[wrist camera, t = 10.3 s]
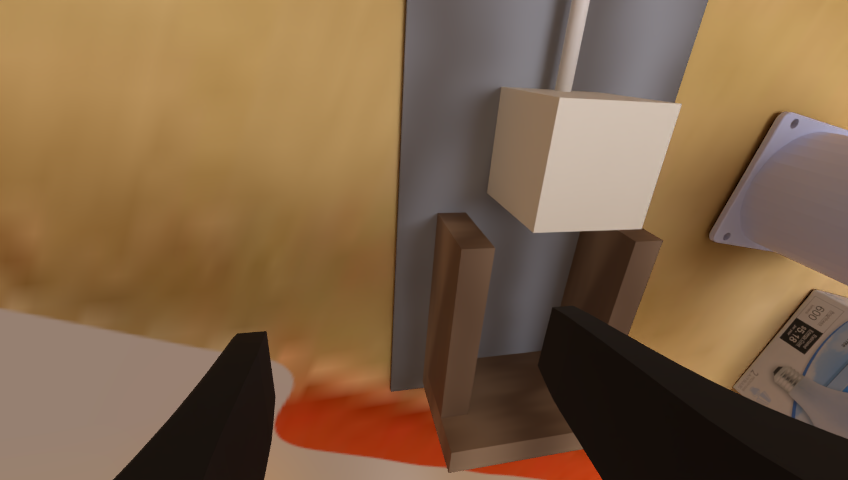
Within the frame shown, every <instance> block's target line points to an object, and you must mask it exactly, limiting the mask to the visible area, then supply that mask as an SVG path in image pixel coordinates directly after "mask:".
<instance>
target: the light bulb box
mask: <svg viewBox="0 0 848 480" xmlns="http://www.w3.org/2000/svg"><path fill="white" fill-rule="evenodd" d="M733 388H734V389H735V390H737V391H738V392H739V393H740V394H741V395H742V396H744V397H746V398H749V399H751V400H753V401H755V402H757V403H760V404H762V405H764V406H766V407H769V408H771V409H773V410H776V411H778V412H780V413H783V414H785V415H788V416H790V417H793V418H795V419H798V420H800V421H803V422H805V423H808V424H810V425H813V426H815V427H818V428H820V429H823V430H826V431H828V432H831V433H833V434H836V435H839V436H841V437H844V438H847V439H848V298H846V297H842V296H839V295H835V294H831V293H828V292H824V291H820V290H813V291H812V293H811V294H810V295H809V296H808V298H807V299H806V300H805V301H804V302H803V304H802V305H801V306H800V307H799V308H798V310H797V311H796V312H795V313H794V314H793V316H792V317H791V318H790V319H789V320H788V322H787V323H786V324H785V325H784V326H783V328H782V329H781V330H780V331H779V332H778V333H777V335H776V336H775V337H774V338H773V339H772V341H771V342H770V343H769V344H768V345H767V347H766V348H765V349H764V350H763V351H762V353H761V354H760V355H759V356H758V358H757V359H756V360H755V361H754V362H753V363H752V365H751V366H750V367H749V368H748V369H747V371H746V372H745V373H744V374H743V375H742V376H741V378H740V379H739V380H738V381H737V382H736V384H735V385H734V386H733Z"/></svg>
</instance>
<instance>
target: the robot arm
mask: <svg viewBox="0 0 848 480" xmlns="http://www.w3.org/2000/svg"><path fill="white" fill-rule="evenodd" d="M709 238H710V240H712V241H714V242H717V243H723V244H729V245H735V246H741V247H747V248H754V249H760V250H766V251H772V252H776V253H778V254H781V255H783V256H785V257H787V258H789V259H791V260H794V261H796V262H798V263H800V264H802V265H804V266H807V267H809V268H811V269H813V270H815V271H817V272H820V273H822V274H824V275H826V276H828V277H830V278H833V279H835V280H837V281H839V282H841V283H843V284H845V285H848V130H845V129H842V128H839V127H836V126H833V125H830V124H827V123H824V122H821V121H818V120H815V119H812V118H809V117H806V116H802V115H799V114H796V113H793V112H782V113H781V114H780V115H778V116H777V118H776V119H775V121H774V123H773V124H772V126H771V128H770V130H769V131H768V133H767V135H766V136H765V138H764V140H763V142H762V143H761V145H760V147H759V149H758V150H757V152H756V154H755V155H754V157H753V159H752V161H751V162H750V164H749V166H748V168H747V169H746V171H745V173H744V174H743V176H742V178H741V180H740V181H739V183H738V185H737V187H736V188H735V190H734V192H733V194H732V195H731V197H730V199H729V200H728V202H727V204H726V206H725V207H724V209H723V211H722V213H721V214H720V216H719V218H718V219H717V221H716V223H715V225H714V226H713V228H712V230H711V232H710V234H709ZM538 368H539V370H540V372H541V375H542V377H543V379H544V381H545V384H546V386H547V388H548V390H549V392H550V394H551V396H552V398H553V401H554V402H555V404H556V406H557V407H558V409H559V411H560V412H561V414H562V415H563V417H564V419H565V420H566V422H567V424H568V425H569V427H570V428H571V430H572V432H573V433H574V435H575V436H576V438H577V440H578V441H579V443H580V444H581V446H582V448H583V449H584V451H585V452H586V454H587V456H588V457H589V459H590V460H591V462H592V464H593V465H594V467H595V468H596V470H597V471H598V473H599V475H600V476H601V478H602V479H603V480H848V439H847V438H844V437H841V436H839V435H836V434H833V433H831V432H828V431H826V430H823V429H820V428H818V427H815V426H813V425H810V424H808V423H805V422H803V421H800V420H798V419H795V418H793V417H790V416H788V415H785V414H783V413H780V412H778V411H776V410H773V409H771V408H769V407H766V406H764V405H762V404H760V403H757V402H755V401H753V400H751V399H749V398H746V397H744V396H742V395H740V394H738V393H735V392H733V391H731V390H729V389H727V388H725V387H723V386H720V385H718V384H716V383H714V382H712V381H710V380H708V379H706V378H704V377H702V376H701V375H699V374H697V373H695V372H693V371H691V370H689V369H687V368H685V367H683V366H681V365H679V364H677V363H676V362H674V361H672V360H670V359H668V358H666V357H665V356H663V355H661V354H659V353H657V352H656V351H654V350H652V349H650V348H648V347H647V346H645V345H643V344H641V343H640V342H638V341H636V340H634V339H633V338H631V337H629V336H627V335H626V334H624V333H622V332H621V331H619V330H617V329H615V328H614V327H612V326H610V325H608V324H607V323H605V322H603V321H601V320H600V319H598V318H596V317H594V316H592V315H590V314H589V313H587V312H585V311H583V310H581V309H579V308H577V307H575V306H561V307H552V311H551V315H550V319H549V323H548V326H547V330H546V334H545V338H544V342H543V346H542V350H541V354H540V358H539V362H538ZM274 407H275V391H274V383H273V376H272V369H271V361H270V354H269V347H268V339H267V332H266V331H264V332H252V333H240V334H237V335H236V336H235V337H233V339H232V340H231V341H230V343H229V344H228V345H227V347H226V348H225V349H224V351H223V352H222V353H221V355H220V356H219V357H218V359H217V360H216V361H215V363H214V364H213V365H212V367H211V368H210V369H209V371H208V372H207V373H206V374H205V376H204V377H203V378H202V380H201V381H200V382H199V383H198V385H197V386H196V387H195V388H194V389H193V391H192V392H191V393H190V394H189V396H188V397H187V398H186V399H185V400H184V402H183V403H182V404H181V405H180V407H179V408H178V409H177V410H176V411H175V413H174V414H173V415H172V416H171V417H170V418H169V420H168V421H167V422H166V423H165V424H164V425H163V426H162V427H161V429H160V430H159V431H158V432H157V433H156V434H155V435H154V436H153V438H151V440H150V441H149V442H148V443H147V444H146V445H145V446H144V447H143V448H142V450H141V451H140V452H139V453H138V454H137V455H136V456H135V457H134V458H133V460H131V462H130V463H129V464H128V465H127V466H126V467H125V468H124V469H123V470H122V471H121V472H120V473H119V474H118V475H117V476H116V477H115V478H114V479H113V480H264V477H265V472H266V467H267V462H268V457H269V451H270V445H271V441H272V430H273V420H274Z"/></svg>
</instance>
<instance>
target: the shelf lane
mask: <svg viewBox="0 0 848 480" xmlns="http://www.w3.org/2000/svg"><path fill="white" fill-rule="evenodd" d="M571 2H572V0H406V21H405V46H404V70H403V95H402V120H401V144H400V169H399V193H398V218H397V242H396V267H395V292H394V316H393V341H392V365H391V392H392V391H400V390H408V389H416V388H424V389H425V392H426V396H427V399H428V403H429V406H430V410H431V413H432V417H433V420H434V424H435V427H436V430H437V434H438V437H439V441H440V444H441V448H442V451H443V455H444V458H445V462H446V465H447V469H448V472H449V473H451V472H456V471H462V470H468V469H474V468H479V467H485V466H490V465H496V464H502V463H507V462H513V461H518V460H524V459H530V458H535V457H541V456H546V455H552V454H557V453H563V452H569V451H574V450H580V449H583V448H582V446H581V444H580V443H579V441H578V440H577V438H576V436H575V435H574V433H573V432H572V430H571V428H570V427H569V425H568V424H567V422H566V420H565V419H564V417H563V415H562V414H561V412H560V411H559V409H558V407H557V406H556V404H555V402H554V401H553V398H552V396H551V394H550V392H549V390H548V388H547V386H546V384H545V381H544V379H543V377H542V375H541V372H540V370H539V368H538V362H539V358H540V354H541V350H542V346H543V342H544V338H545V334H546V330H547V326H548V323H549V319H550V315H551V311H552V307H561V306H575V307H577V308H579V309H581V310H583V311H585V312H587V313H589V314H590V315H592V316H594V317H596V318H598V319H600V320H601V321H603V322H605V323H607V324H608V325H610V326H612V327H614V328H615V329H617V330H619V331H621V332H622V333H624V334H626V335H627V336H628V334H629V331H630V328H631V325H632V323H633V320H634V317H635V315H636V312H637V309H638V307H639V304H640V301H641V299H642V296H643V293H644V290H645V288H646V285H647V282H648V280H649V277H650V274H651V272H652V269H653V266H654V264H655V261H656V258H657V255H658V253H659V250H660V247H661V245H662V242H663V240H661V239H659V238H658V237H656V236H654V235H653V234H651V233H649V232H647V231H646V230H644V229H631V230H603V231H574V232H546V233H533V232H532V231H530V230H529V229H528V228H527V227H526V226H525V225H523V224H522V223H521V222H520V221H519V220H518V219H517V218H515V217H514V216H513V215H512V214H511V213H510V212H508V211H507V210H506V209H505V208H504V207H503V206H501V205H500V204H499V203H498V202H497V201H496V200H495V199H493V198H492V197H491V196H490V195H489V194H488V193H487V189H488V181H489V174H490V167H491V159H492V152H493V145H494V137H495V130H496V123H497V115H498V108H499V101H500V93H501V87H516V88H533V89H551V90H555V86H556V81H557V75H558V70H559V65H560V59H561V54H562V49H563V44H564V38H565V33H566V28H567V23H568V17H569V12H570V7H571ZM707 2H708V0H590V3H589V7H588V12H587V17H586V22H585V27H584V32H583V36H582V41H581V46H580V51H579V56H578V61H577V66H576V70H575V75H574V80H573V85H572V90H571V91H586V92H600V93H608V94H615V95H622V96H629V97H636V98H643V99H650V100H658V101H665V102H672V103H675V100H676V96H677V93H678V90H679V87H680V84H681V81H682V78H683V75H684V72H685V69H686V66H687V63H688V60H689V57H690V54H691V51H692V48H693V45H694V42H695V39H696V36H697V33H698V30H699V27H700V24H701V21H702V17H703V14H704V11H705V8H706V5H707Z"/></svg>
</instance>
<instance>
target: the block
mask: <svg viewBox="0 0 848 480" xmlns="http://www.w3.org/2000/svg"><path fill="white" fill-rule="evenodd" d="M589 3H590V0H572V2H571V7H570V12H569V17H568V23H567V28H566V33H565V38H564V44H563V49H562V54H561V59H560V65H559V70H558V75H557V81H556V86H555V90H551V89H533V88H516V87H501V93H500V101H499V108H498V115H497V123H496V130H495V137H494V145H493V152H492V159H491V167H490V174H489V181H488V189H487V193H488V194H489V195H490V196H491V197H492V198H493V199H495V200H496V201H497V202H498V203H499V204H500V205H501V206H503V207H504V208H505V209H506V210H507V211H508V212H510V213H511V214H512V215H513V216H514V217H515V218H517V219H518V220H519V221H520V222H521V223H522V224H523V225H525V226H526V227H527V228H528V229H529V230H530V231H532V232H533V233H546V232H574V231H603V230H631V229H642V226H643V223H644V220H645V217H646V214H647V211H648V208H649V204H650V201H651V198H652V195H653V192H654V189H655V186H656V183H657V180H658V176H659V173H660V170H661V167H662V164H663V161H664V158H665V155H666V152H667V148H668V145H669V142H670V139H671V136H672V133H673V130H674V127H675V124H676V120H677V117H678V114H679V111H680V108H681V105H682V104H679V103H672V102H665V101H658V100H650V99H643V98H636V97H629V96H622V95H615V94H608V93H600V92H586V91H571V90H572V85H573V80H574V75H575V70H576V66H577V61H578V56H579V51H580V46H581V41H582V36H583V32H584V27H585V22H586V17H587V12H588V7H589Z"/></svg>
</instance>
